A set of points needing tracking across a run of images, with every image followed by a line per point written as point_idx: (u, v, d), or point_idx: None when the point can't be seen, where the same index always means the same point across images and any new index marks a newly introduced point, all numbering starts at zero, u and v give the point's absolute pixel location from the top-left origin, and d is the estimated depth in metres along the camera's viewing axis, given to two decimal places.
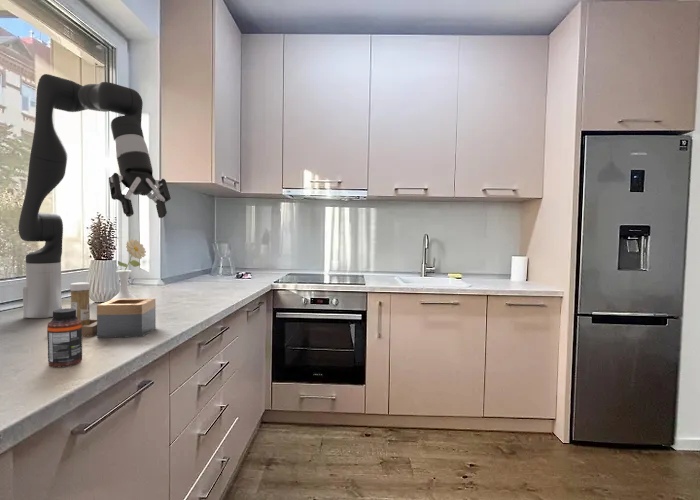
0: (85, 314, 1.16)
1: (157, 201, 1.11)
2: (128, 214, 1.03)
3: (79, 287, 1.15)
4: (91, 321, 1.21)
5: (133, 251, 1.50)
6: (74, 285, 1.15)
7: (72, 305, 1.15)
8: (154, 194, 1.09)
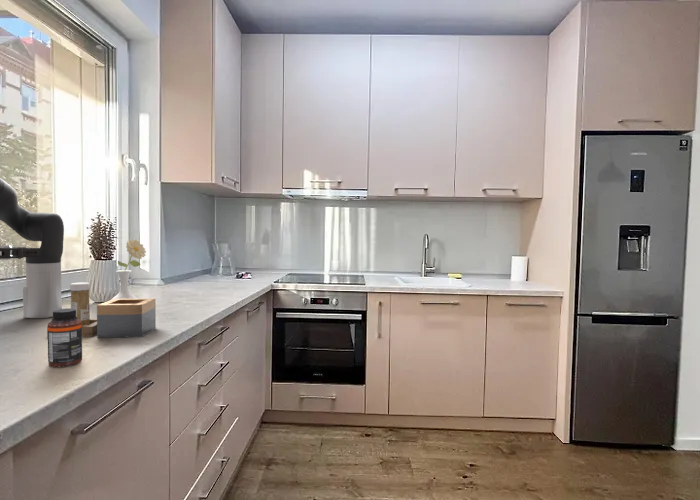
0: (85, 314, 1.16)
1: None
2: None
3: (79, 287, 1.15)
4: (91, 321, 1.21)
5: (133, 251, 1.50)
6: (74, 285, 1.15)
7: (72, 305, 1.15)
8: None
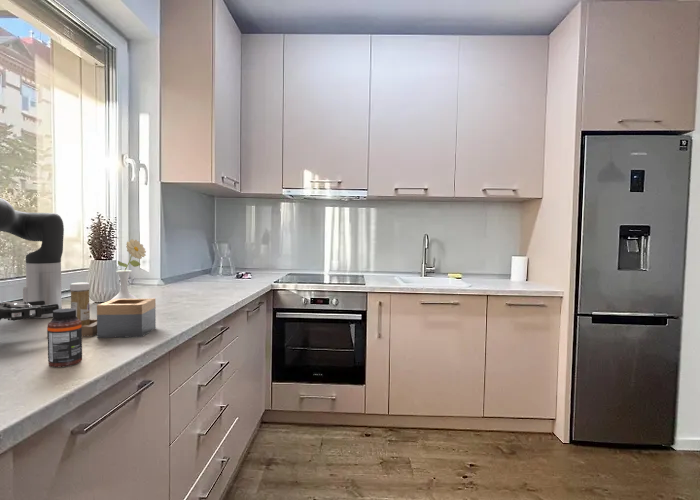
0: (85, 314, 1.16)
1: None
2: None
3: (79, 287, 1.15)
4: (91, 321, 1.21)
5: (133, 251, 1.50)
6: (74, 285, 1.15)
7: (72, 305, 1.15)
8: None
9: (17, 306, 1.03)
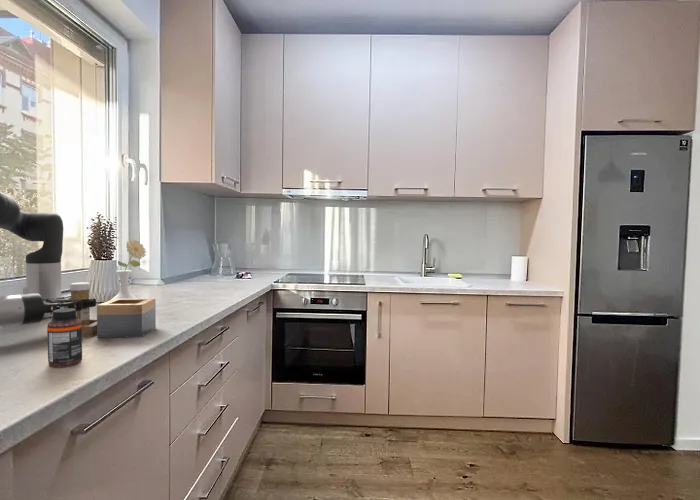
0: (85, 314, 1.16)
1: None
2: None
3: (79, 287, 1.15)
4: (91, 321, 1.21)
5: (133, 251, 1.50)
6: (74, 285, 1.15)
7: None
8: None
9: (60, 301, 1.11)
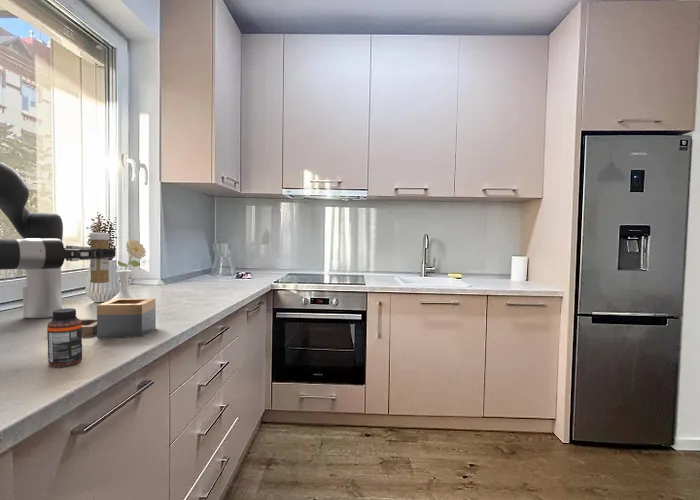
0: (105, 264, 1.15)
1: None
2: None
3: (99, 236, 1.14)
4: (91, 321, 1.21)
5: (133, 251, 1.50)
6: (94, 234, 1.13)
7: None
8: None
9: (80, 248, 1.10)
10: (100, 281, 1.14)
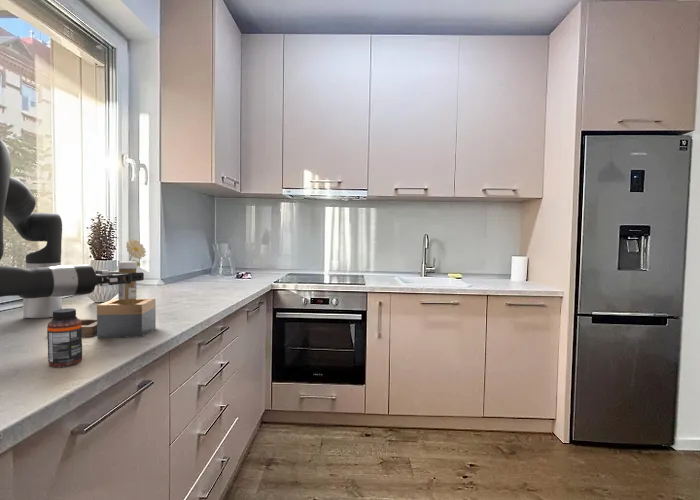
0: (133, 293, 1.16)
1: None
2: None
3: (128, 265, 1.14)
4: (91, 321, 1.21)
5: (133, 251, 1.50)
6: (123, 263, 1.14)
7: None
8: None
9: (109, 273, 1.10)
10: None
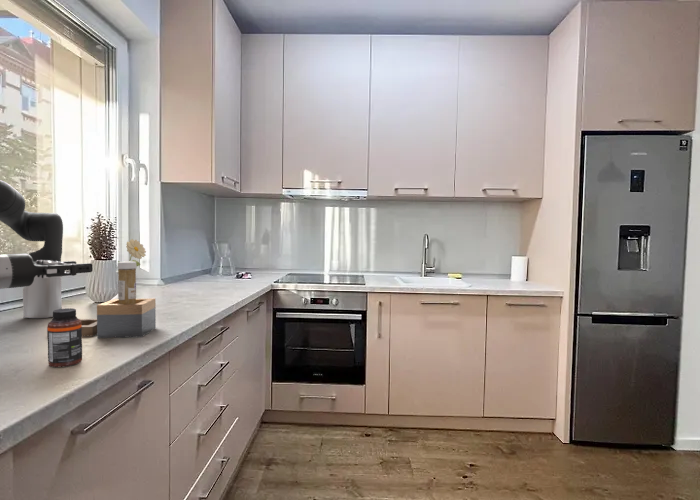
0: (133, 293, 1.15)
1: None
2: None
3: (127, 265, 1.14)
4: (91, 321, 1.21)
5: (133, 251, 1.50)
6: (122, 263, 1.14)
7: (120, 283, 1.14)
8: None
9: (51, 263, 0.99)
10: None
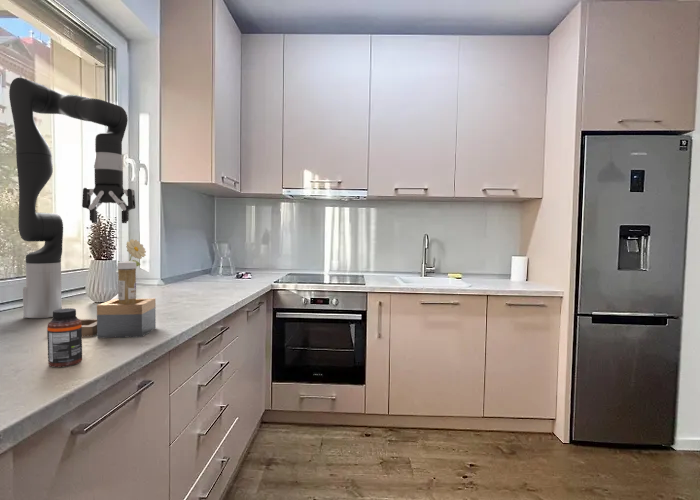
0: (133, 293, 1.15)
1: None
2: None
3: (127, 265, 1.14)
4: (91, 321, 1.21)
5: (133, 251, 1.50)
6: (122, 263, 1.14)
7: (120, 283, 1.14)
8: None
9: None
10: None
